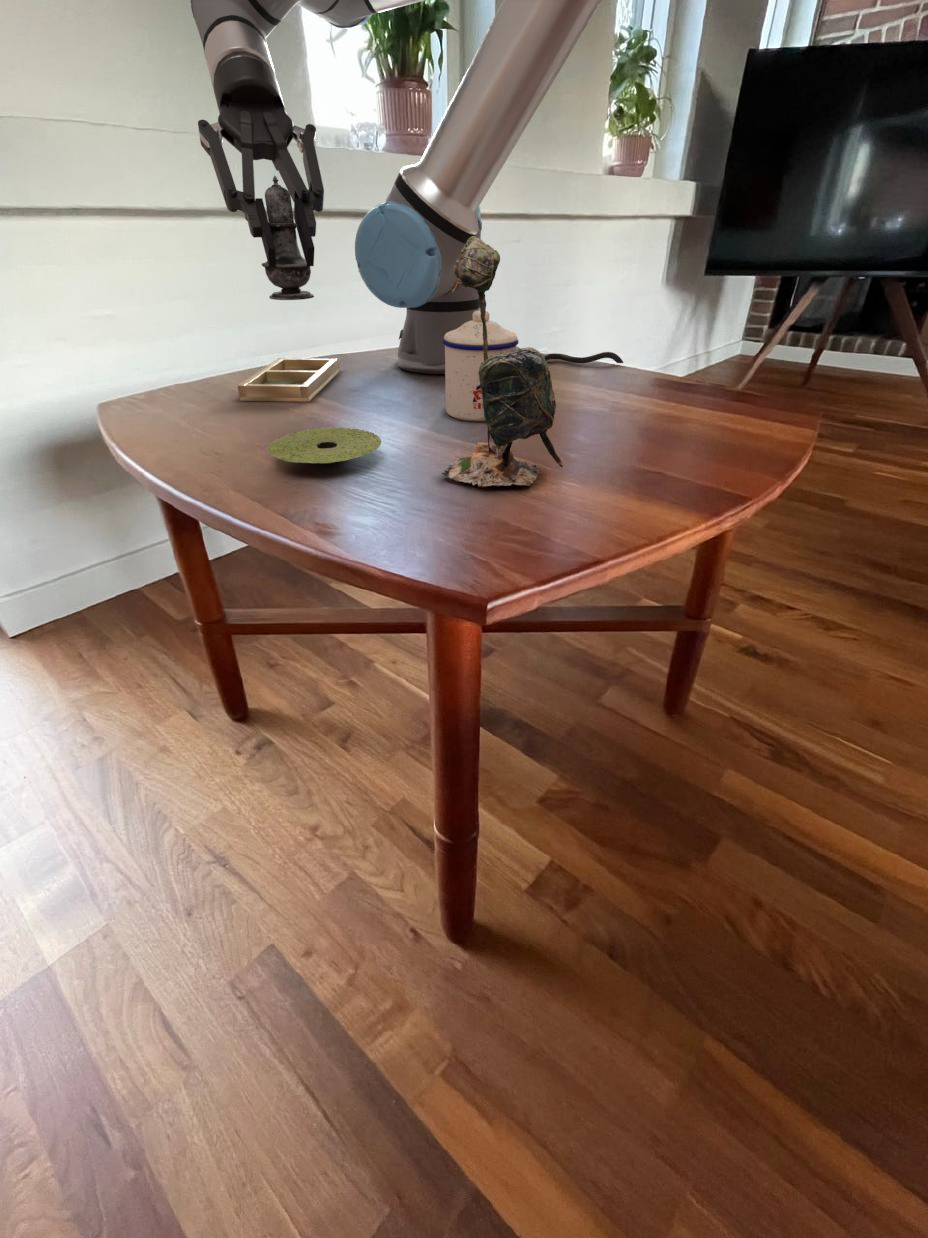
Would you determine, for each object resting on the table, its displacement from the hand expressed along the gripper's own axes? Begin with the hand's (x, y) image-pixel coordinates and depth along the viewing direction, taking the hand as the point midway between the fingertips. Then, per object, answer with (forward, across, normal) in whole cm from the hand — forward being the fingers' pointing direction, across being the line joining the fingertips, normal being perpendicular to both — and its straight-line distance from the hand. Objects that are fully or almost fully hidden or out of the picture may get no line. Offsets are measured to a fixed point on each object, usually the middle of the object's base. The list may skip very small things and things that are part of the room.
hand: (291, 257), depth 69 cm
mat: (+26, +2, +1) cm, 26 cm away
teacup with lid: (+18, -21, -7) cm, 28 cm away
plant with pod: (+34, -12, +9) cm, 37 cm away
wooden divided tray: (+1, 0, -23) cm, 23 cm away
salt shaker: (0, 0, -6) cm, 6 cm away
